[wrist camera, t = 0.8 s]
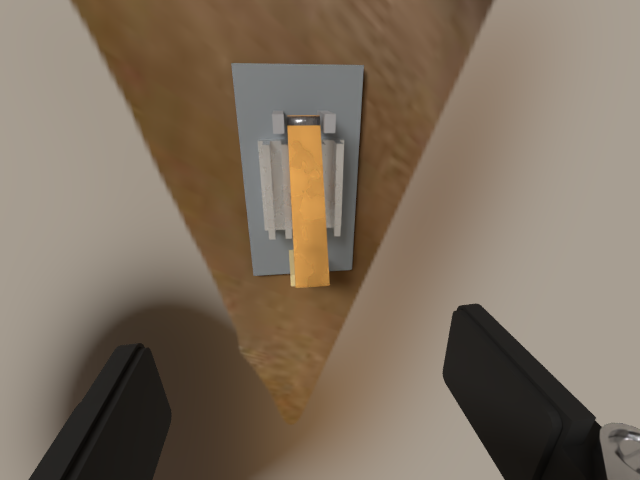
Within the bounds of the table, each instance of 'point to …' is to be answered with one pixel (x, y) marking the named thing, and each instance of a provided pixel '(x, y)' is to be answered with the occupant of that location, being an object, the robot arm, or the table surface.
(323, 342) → the table surface
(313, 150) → the strap
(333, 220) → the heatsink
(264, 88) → the cpu board
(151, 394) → the robot arm
